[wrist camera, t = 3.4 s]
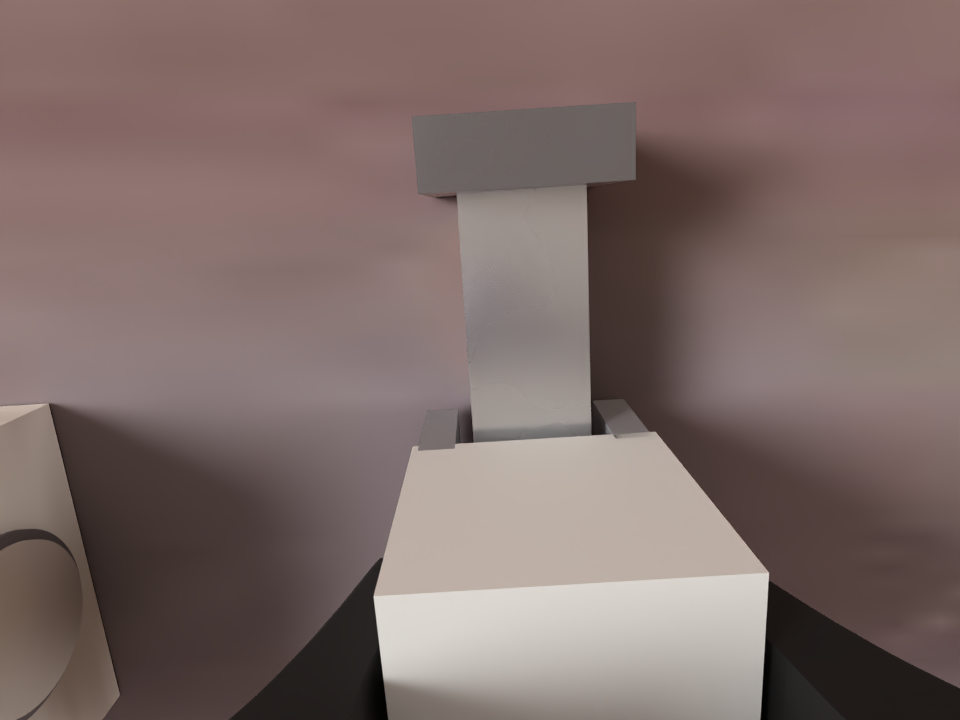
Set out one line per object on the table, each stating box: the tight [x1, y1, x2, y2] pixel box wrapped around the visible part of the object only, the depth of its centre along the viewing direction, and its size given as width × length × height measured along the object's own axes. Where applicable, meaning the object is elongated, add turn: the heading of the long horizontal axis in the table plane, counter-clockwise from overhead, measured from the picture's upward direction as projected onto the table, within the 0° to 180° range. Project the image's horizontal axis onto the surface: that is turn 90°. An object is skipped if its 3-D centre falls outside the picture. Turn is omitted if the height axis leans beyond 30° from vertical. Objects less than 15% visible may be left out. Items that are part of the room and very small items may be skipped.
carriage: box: [374, 399, 769, 720], centre depth 10 cm, size 5×4×6 cm
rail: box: [412, 102, 636, 443], centre depth 12 cm, size 16×3×3 cm, turn 4°
